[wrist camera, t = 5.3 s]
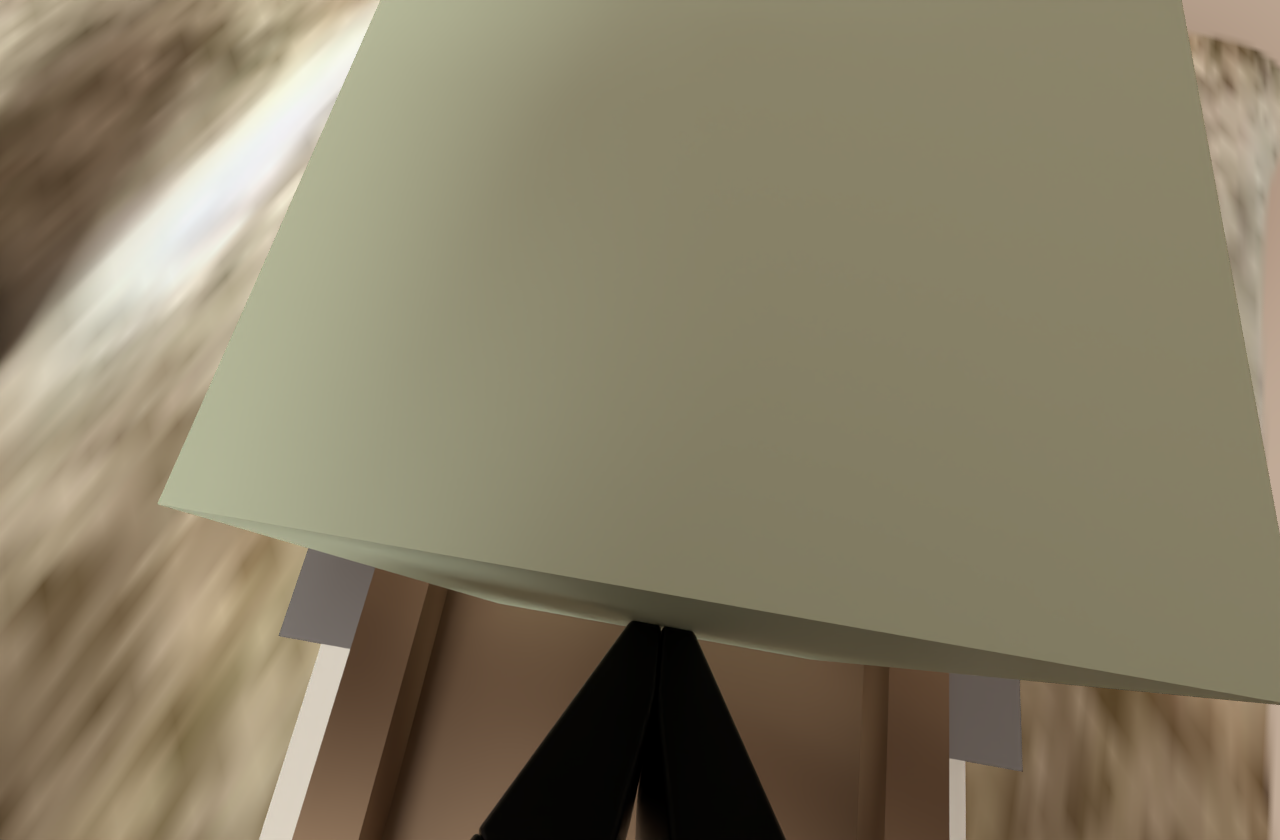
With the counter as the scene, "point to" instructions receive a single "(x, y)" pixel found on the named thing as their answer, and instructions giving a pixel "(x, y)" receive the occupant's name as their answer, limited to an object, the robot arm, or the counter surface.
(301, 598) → the stand
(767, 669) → the beam
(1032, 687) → the counter surface
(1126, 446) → the pale green block
